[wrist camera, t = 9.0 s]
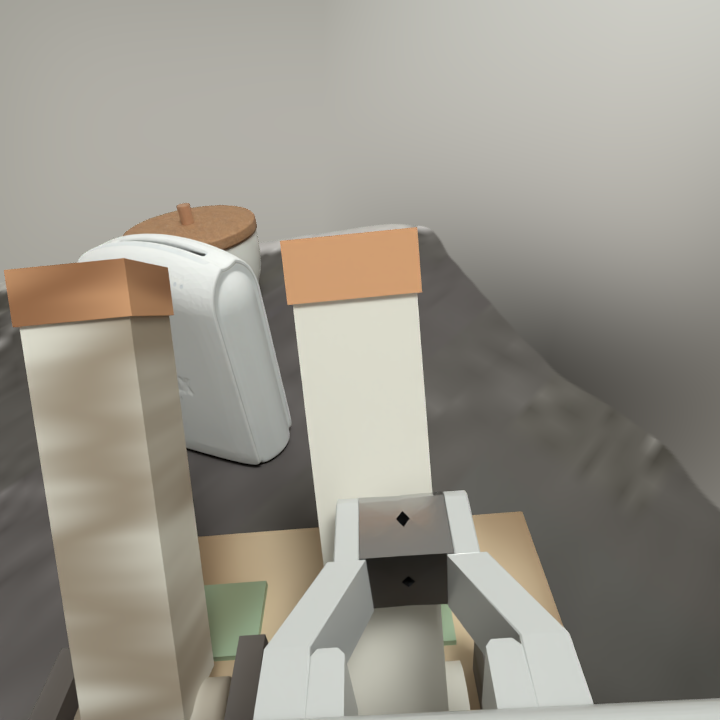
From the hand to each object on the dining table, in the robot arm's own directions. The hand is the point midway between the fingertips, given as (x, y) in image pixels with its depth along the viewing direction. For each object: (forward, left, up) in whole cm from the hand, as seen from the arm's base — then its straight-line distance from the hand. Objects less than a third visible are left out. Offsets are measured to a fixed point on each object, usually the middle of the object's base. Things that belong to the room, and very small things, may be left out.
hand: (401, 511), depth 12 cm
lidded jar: (-15, +33, -11) cm, 37 cm away
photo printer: (-11, +16, -11) cm, 22 cm away
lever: (-1, -2, -8) cm, 8 cm away
